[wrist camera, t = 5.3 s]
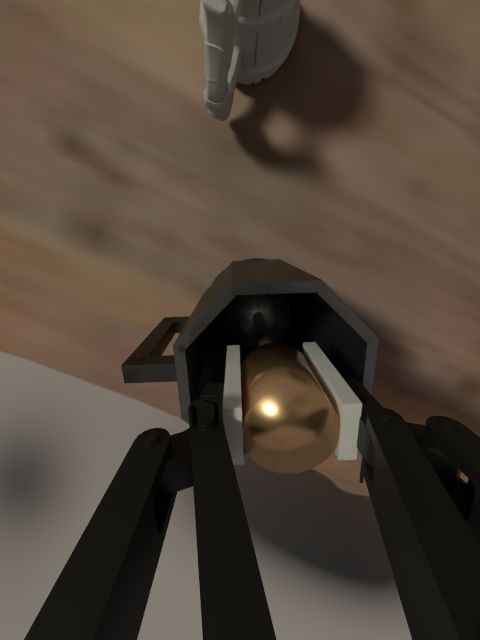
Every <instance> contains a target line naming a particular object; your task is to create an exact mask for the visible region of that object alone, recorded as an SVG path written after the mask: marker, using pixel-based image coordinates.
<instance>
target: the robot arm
mask: <svg viewBox="0 0 480 640" xmlns="http://www.w3.org/2000/svg"><path fill="white" fill-rule="evenodd" d="M303 356H304V357H305V359H306V361H307V362H308V364H309V366H310V367H311V369H312V371H313V373H314V374H315V376H316V378H317V380H318V381H319V383H320V385H321V387H322V388H323V390H324V392H325V393H326V395H327V397H328V399H329V400H330V402H331V404H332V406H333V407H334V409H335V411H336V413H337V415H338V417H339V420H340V436H339V442H338V444H337V446H336V448H335V450H334V452H335V455H336V457H337V459H338V460H356V457H357V448H358V450H359V452H360V453H361V455H362V462H361V471H360V483H363V478H365V481H366V484H367V488H368V491H369V495H370V498H371V501H372V505H373V508H374V511H375V515H376V518H377V521H378V525H379V528H380V532H381V535H382V539H383V542H384V545H385V549H386V552H387V555H388V559H389V562H390V566H391V569H392V572H393V576H394V579H395V583H396V586H397V589H398V593H399V596H400V600H401V603H402V606H403V609H404V613H405V616H406V620H407V623H408V627H409V630H410V633H411V637H412V640H480V437H478V436H477V435H476V434H475V433H473V432H472V431H471V430H469V429H468V428H467V427H466V426H464V425H463V424H461V423H460V422H458V421H456V420H453V419H451V418H448V417H444V416H432V417H429V418H428V419H427V421H426V426H425V425H419V424H413V423H408V422H405V421H404V419H403V418H402V417H401V416H400V415H399V414H398V413H396V412H394V411H392V410H389V409H386V408H382V406H381V405H380V404H379V403H378V402H377V401H376V399H375V398H374V397H373V396H372V395H371V394H370V393H369V391H368V390H367V389H366V388H365V387H364V386H363V384H362V383H361V382H359V381H358V380H356V379H354V378H352V377H351V378H342V376H341V375H340V374H339V372H338V371H337V370H336V369H335V367H334V366H333V365H332V363H331V362H330V361H329V359H328V358H327V357H326V355H325V354H324V353H323V352H322V350H321V349H320V348H319V346H318V345H317V344H316V342H303ZM188 415H189V425H190V428H189V429H187V430H185V431H183V432H181V433H178V434H174V435H170V434H169V432H168V431H167V430H165V429H162V428H153V429H149V430H147V431H144V432H143V433H141V434H140V435H139V436H138V437H137V438H136V439H135V441H134V442H133V444H132V446H131V448H130V449H129V451H128V453H127V455H126V457H125V458H124V460H123V462H122V464H121V466H120V468H119V469H118V471H117V473H116V475H115V477H114V478H113V480H112V482H111V484H110V485H109V487H108V489H107V491H106V493H105V494H104V496H103V498H102V500H101V502H100V504H99V505H98V507H97V509H96V511H95V513H94V514H93V516H92V518H91V520H90V522H89V524H88V525H87V527H86V529H85V531H84V532H83V534H82V536H81V538H80V540H79V541H78V543H77V545H76V547H75V549H74V550H73V552H72V554H71V556H70V558H69V559H68V561H67V564H66V565H65V567H64V568H63V571H62V572H61V574H60V576H59V577H58V579H57V581H56V583H55V585H54V587H53V588H52V590H51V592H50V594H49V596H48V597H47V599H46V601H45V603H44V605H43V607H42V608H41V610H40V612H39V614H38V615H37V617H36V619H35V621H34V623H33V624H32V626H31V628H30V630H29V632H28V633H27V635H26V637H25V639H24V640H137V637H138V633H139V630H140V627H141V623H142V619H143V615H144V611H145V608H146V604H147V601H148V597H149V593H150V589H151V586H152V582H153V579H154V575H155V572H156V568H157V564H158V561H159V557H160V553H161V550H162V546H163V542H164V539H165V535H166V531H167V528H168V524H169V520H170V517H171V513H172V509H173V506H174V502H175V498H176V495H177V491H180V490H183V489H186V488H189V487H192V486H194V502H195V518H196V533H197V534H196V535H197V551H198V567H199V583H200V599H201V613H202V614H201V615H202V631H203V640H276V636H275V632H274V629H273V624H272V620H271V616H270V612H269V608H268V604H267V600H266V596H265V592H264V588H263V583H262V580H261V575H260V572H259V568H258V563H257V559H256V555H255V551H254V547H253V543H252V539H251V535H250V531H249V527H248V523H247V519H246V515H245V510H244V506H243V502H242V498H241V494H240V490H239V486H238V482H237V478H236V474H235V470H234V466H233V465H241V464H244V452H243V427H242V400H241V372H240V345H227V356H226V369H225V382H224V383H217V384H207V385H206V386H205V387H204V388H203V389H202V391H201V397H200V399H197V400H195V401H193V402H192V403H191V404H190V405H189V407H188ZM461 471H462V472H463V473H464V474H465V475H466V476H467V477H468V478H469V480H468V483H466V482H464V481H463V480H462V479H461V478H460V474H461Z"/></svg>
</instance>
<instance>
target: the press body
mask: <svg viewBox="0 0 480 640" xmlns="http://www.w3.org/2000/svg"><path fill="white" fill-rule="evenodd" d="M258 294H281V295H282V296H283V297H284V298H285V300H286V301H287V303H288V305H289V308H290V313H291V320H290V325H289V328H288V330H287V332H286V333H285V335H284V336H283V337H282V338H281V339H280V340H279V341H278V342H277V343H285V344H288V345H291V346H293V347H294V348H296V349H297V350H299V351H300V352H301V353H302V354H303V342H316V344H317V345H318V346H319V348H320V349H321V350H322V352H323V353H324V354H325V355H326V357H327V358H328V359H329V361H330V362H331V363H332V365H333V366H334V367H335V369H336V370H337V371H338V372H339V374H340V375H341V376H342V378H351V377H352V378H354V379H356V380H358V381H359V382H361V383H362V384H363V386H364V387H365V388H366V389H367V390H368V391H369V393H370V394H371V395H372V392H373V383H374V375H375V367H376V359H377V350H378V342H379V337H377V336H376V334H375V333H374V332H373V331H372V330H371V329H370V328H369V327H368V326H367V325H366V324H365V323H364V322H363V321H362V320H361V319H360V318H359V317H358V316H357V315H356V314H355V313H354V312H353V311H352V310H351V309H350V308H349V307H348V306H347V305H346V304H345V303H344V302H343V301H342V300H341V299H340V298H339V297H338V296H337V295H336V294H335V293H334V292H333V291H332V290H331V289H330V288H329V287H328V286H327V285H326V284H325V283H324V282H323V281H322V280H321V279H319V278H317V277H315V276H313V275H311V274H309V273H307V272H305V271H302V270H300V269H298V268H296V267H294V266H292V265H290V264H288V263H286V262H284V261H282V260H280V259H273V260H268V259H259V258H254V259H247V260H243V261H233V262H232V263H231V264H230V265H229V266H228V267H227V268H226V269H225V270H224V271H223V272H221V273H220V274H219V275H218V277H217V278H216V279H215V280H214V282H213V283H212V285H211V286H210V287H209V288H208V290H207V291H206V292H205V293H204V294H203V295H202V297H201V299H200V301H199V302H198V304H197V306H196V307H195V309H194V311H193V313H192V314H191V316H190V317H169V318H164V319H163V320H162V321H161V322H160V323H159V324H158V325H157V326H156V328H155V329H154V330H153V331H152V332H151V333H150V334H149V335H148V337H147V338H146V339H145V340H144V341H143V342H142V343H141V344H140V345H139V347H138V348H137V349H136V350H135V351H134V352H133V353H132V354H131V355H130V357H129V358H128V359H127V360H126V361H125V362H124V363H123V364H122V365H121V366H122V371H123V377H124V383H144V382H169V381H177V383H178V392H179V400H180V409H181V419H182V420H184V421H185V422H187V423H188V424H189V415H188V407H189V405H190V404H191V403H192V402H193V401H195V400H197V399H200V397H201V391H202V389H203V388H204V387H205V386H206V385H207V384H217V383H224V382H225V369H226V356H227V345H240V371H241V366H242V363H243V361H244V360H245V358H246V357H247V355H248V354H249V353H250V352H251V351H253V350H254V349H255V348H253V347H248V346H245V345H243V344H241V343H240V342H238V341H237V340H236V339H235V338H234V337H233V336H232V335H231V333H230V331H229V329H228V326H227V321H226V314H227V308H228V305H229V303H230V301H231V300H232V299H233V298H234V297H235V296H236V295H258ZM175 333H180V335H179V337H178V338H177V340H176V342H175V343H174V345H173V349H174V355H170V356H161V355H162V354H163V352H164V351H165V349H166V347H167V346H168V344H169V343H170V341H171V340H172V338H173V336H174V335H175ZM243 452H244V461H252V458H251V457H250V456H249V455H248V453H247V452H246V450H245V448H244V445H243Z"/></svg>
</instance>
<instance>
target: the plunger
mask: <svg viewBox="0 0 480 640" xmlns="http://www.w3.org/2000/svg"><path fill="white" fill-rule="evenodd" d="M290 320H291V313H290V308H289V305H288V303H287V301H286V300H285V298H284V297H283V296H282V295H281V294H258V295H236V296H235V297H234V298H233V299H232V300H231V301H230V303H229V305H228V308H227V314H226V321H227V326H228V329H229V331H230V333H231V335H232V336H233V337H234V338H235V339H236V340H237V341H238V342H240V343H241V344H243V345H245V346H248V347H253V348H255V349H254V350H253V351H251V352H250V353H249V354H248V355H247V357H246V358H245V360H244V361H243V363H242V366H241V371H240V372H241V400H242V427H243V445H244V448H245V450H246V452H247V453H248V455H249V456H250V457H251V458H252V460H253V461H255V462H256V463H257V464H259V465H260V466H262V467H263V468H266V469H268V470H271V471H274V472H278V473H298V472H303V471H306V470H309V469H311V468H314V467H316V466H317V465H319V464H321V463H322V462H323V461H325V460H326V459H327V458H328V457H329V456H330V455H331V454H332V453H333V451H334V450H335V448H336V446H337V444H338V442H339V436H340V420H339V417H338V415H337V413H336V411H335V409H334V407H333V406H332V404H331V402H330V400H329V399H328V397H327V395H326V393H325V392H324V390H323V388H322V387H321V385H320V383H319V381H318V380H317V378H316V376H315V374H314V373H313V371H312V369H311V367H310V366H309V364H308V362H307V361H306V359H305V357H304V356H303V354H302V353H301V352H300V351H299V350H297V349H296V348H294V347H293V346H291V345H288V344H285V343H277V342H278V341H279V340H280V339H281V338H282V337H283V336H284V335H285V333H286V332H287V330H288V328H289V325H290Z"/></svg>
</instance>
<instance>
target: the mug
mask: <svg viewBox="0 0 480 640" xmlns="http://www.w3.org/2000/svg"><path fill="white" fill-rule="evenodd" d="M299 17H300V6H299V0H201V1H200V16H199V24H200V28H201V30H202V35H203V39H204V60H205V63H204V78H205V79H206V88H205V90H204V102H205V105H206V107H207V108H208V111H209V113H210V115H211V116H212V117H214V118H216V119H219V120H221V121H224V120H226V119H227V118H228V117H229V114H230V111H231V107H232V102H233V97H234V90H235V86H236V82H238V83H241V84H252V82H253V83H254V84H255V83H260V81H261V80H262V78H264V79H265V80H266V79H268V78H269V77H271V76H272V75H273V74H274V73H275V72H276V71H277V70H278V68H279V67H280V66H281V65H282V64H283V62H284V61H285V60H286V58H287V56H288V55H289V53H290V51H291V49H292V46H293V44H294V41H295V38H296V35H297V30H298V24H299Z"/></svg>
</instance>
